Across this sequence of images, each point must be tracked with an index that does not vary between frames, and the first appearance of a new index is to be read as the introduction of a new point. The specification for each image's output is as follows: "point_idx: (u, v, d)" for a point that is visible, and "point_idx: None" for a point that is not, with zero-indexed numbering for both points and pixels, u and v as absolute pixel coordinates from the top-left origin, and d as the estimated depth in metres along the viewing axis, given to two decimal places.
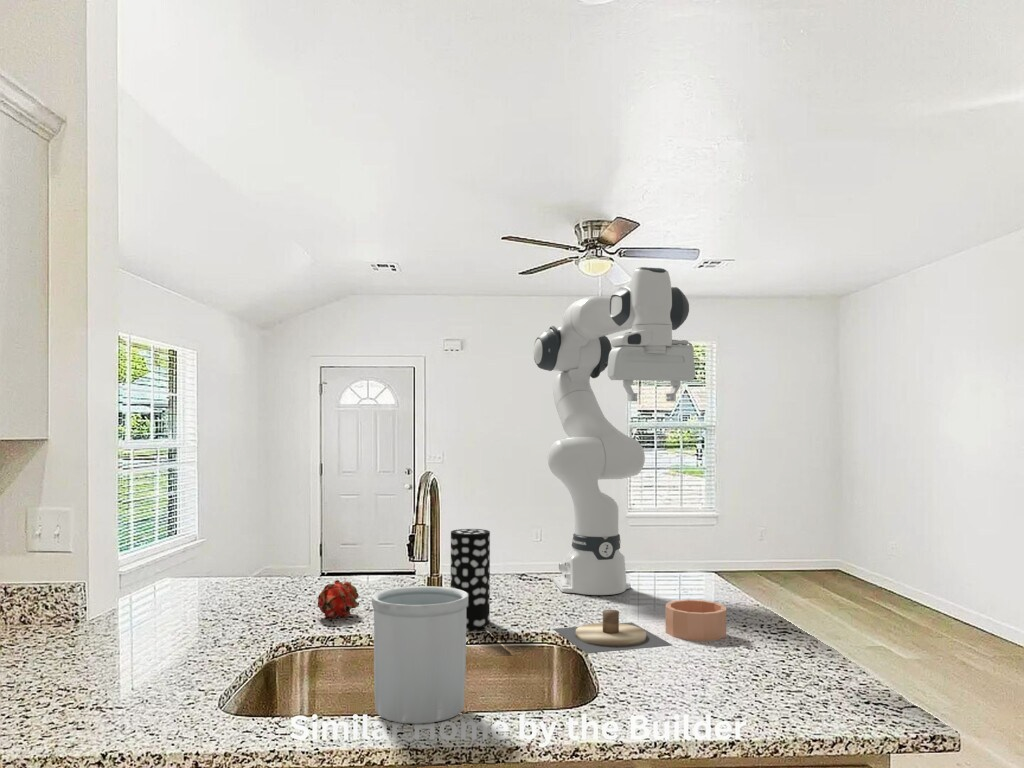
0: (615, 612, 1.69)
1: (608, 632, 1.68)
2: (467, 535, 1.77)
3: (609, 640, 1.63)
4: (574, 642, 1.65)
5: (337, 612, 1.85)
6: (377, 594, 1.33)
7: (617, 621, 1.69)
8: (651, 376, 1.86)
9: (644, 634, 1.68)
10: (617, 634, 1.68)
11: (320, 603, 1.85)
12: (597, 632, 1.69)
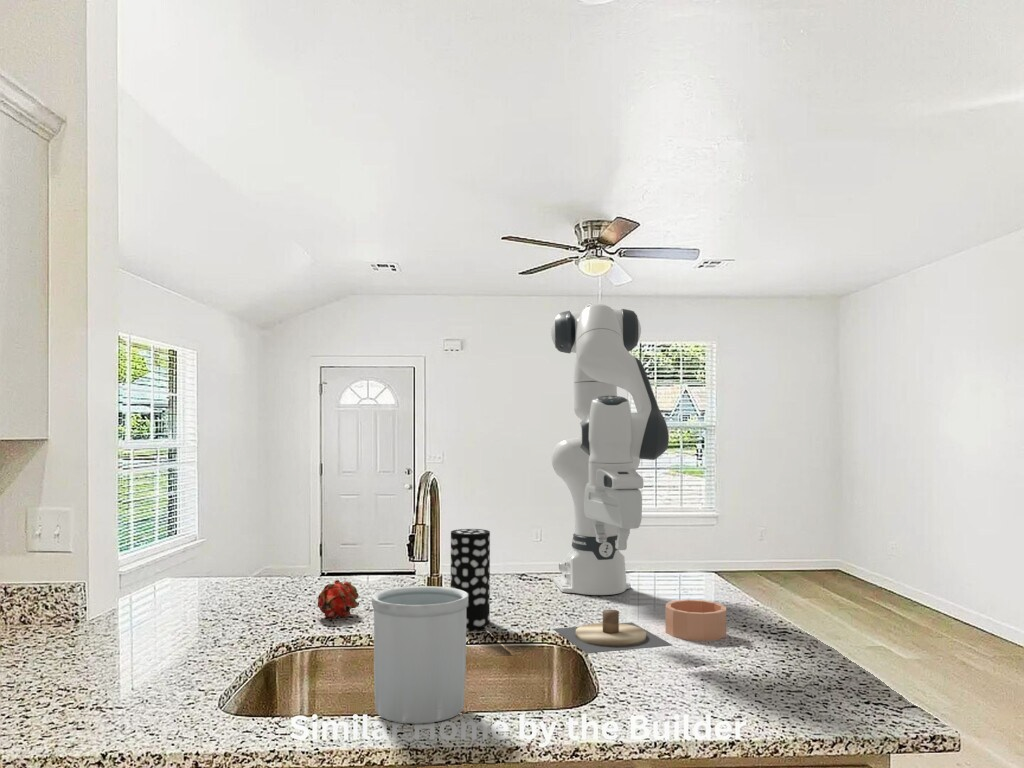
0: (615, 612, 1.69)
1: (608, 632, 1.68)
2: (467, 535, 1.77)
3: (609, 640, 1.63)
4: (574, 642, 1.65)
5: (337, 612, 1.85)
6: (377, 594, 1.33)
7: (617, 621, 1.69)
8: None
9: (644, 634, 1.68)
10: (617, 634, 1.68)
11: (320, 603, 1.85)
12: (597, 632, 1.69)
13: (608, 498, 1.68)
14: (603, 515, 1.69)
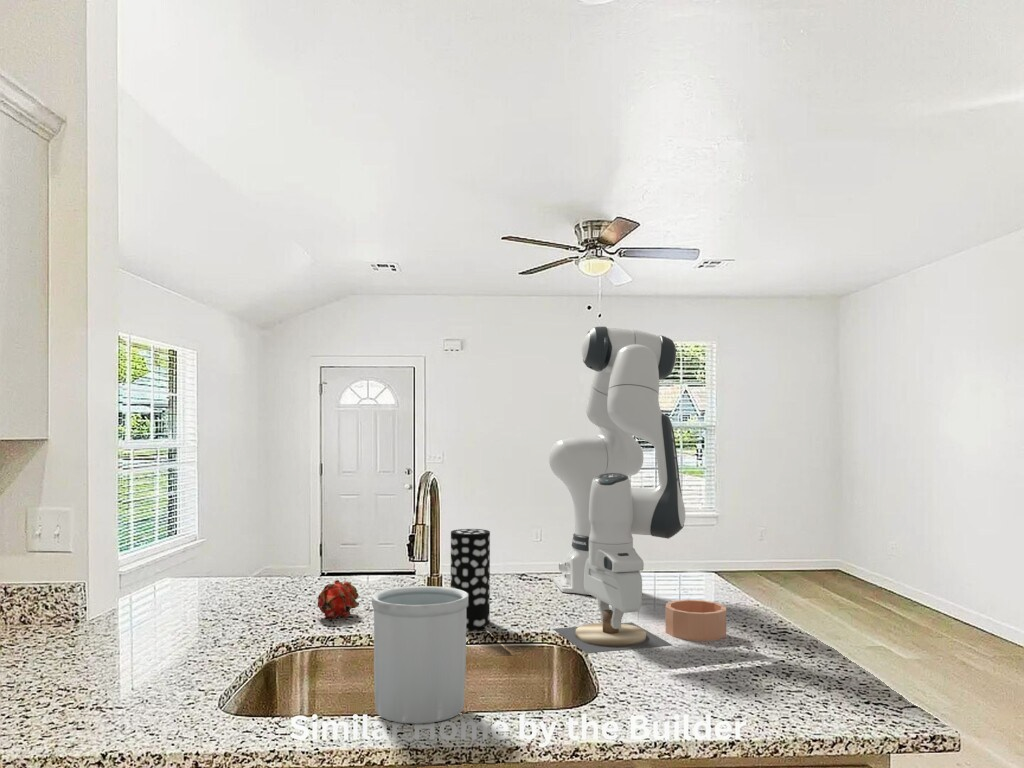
0: None
1: (608, 632, 1.68)
2: (467, 535, 1.77)
3: (609, 640, 1.63)
4: (574, 642, 1.65)
5: (337, 612, 1.85)
6: (377, 594, 1.33)
7: None
8: None
9: (644, 634, 1.68)
10: (617, 634, 1.68)
11: (320, 603, 1.85)
12: (597, 632, 1.69)
13: (608, 578, 1.67)
14: (603, 594, 1.69)
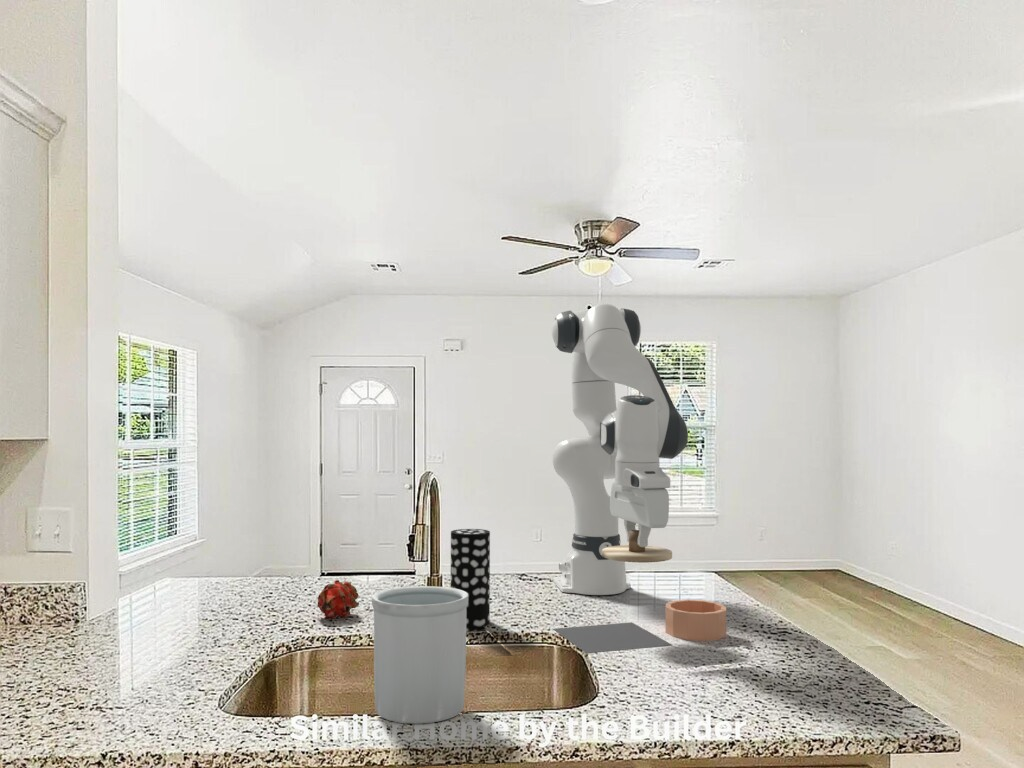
0: None
1: (634, 551, 1.70)
2: (467, 535, 1.77)
3: (636, 556, 1.65)
4: (574, 642, 1.65)
5: (337, 612, 1.85)
6: (377, 594, 1.33)
7: None
8: None
9: (670, 552, 1.69)
10: (644, 552, 1.69)
11: (320, 603, 1.85)
12: (623, 551, 1.71)
13: (635, 497, 1.69)
14: (630, 514, 1.70)
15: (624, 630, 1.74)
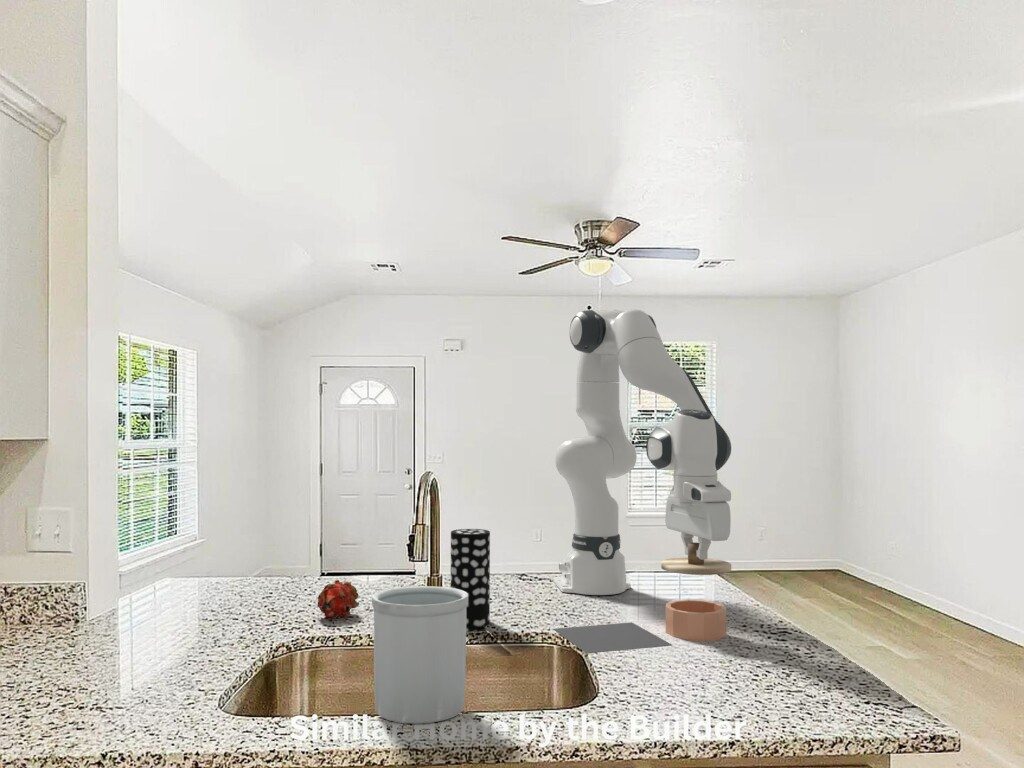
0: None
1: (694, 563, 1.72)
2: (467, 535, 1.77)
3: (698, 569, 1.67)
4: (574, 642, 1.65)
5: (337, 612, 1.85)
6: (377, 594, 1.33)
7: None
8: None
9: (729, 565, 1.72)
10: (703, 565, 1.71)
11: (320, 603, 1.85)
12: (683, 564, 1.73)
13: (694, 510, 1.71)
14: (689, 527, 1.72)
15: (624, 630, 1.74)
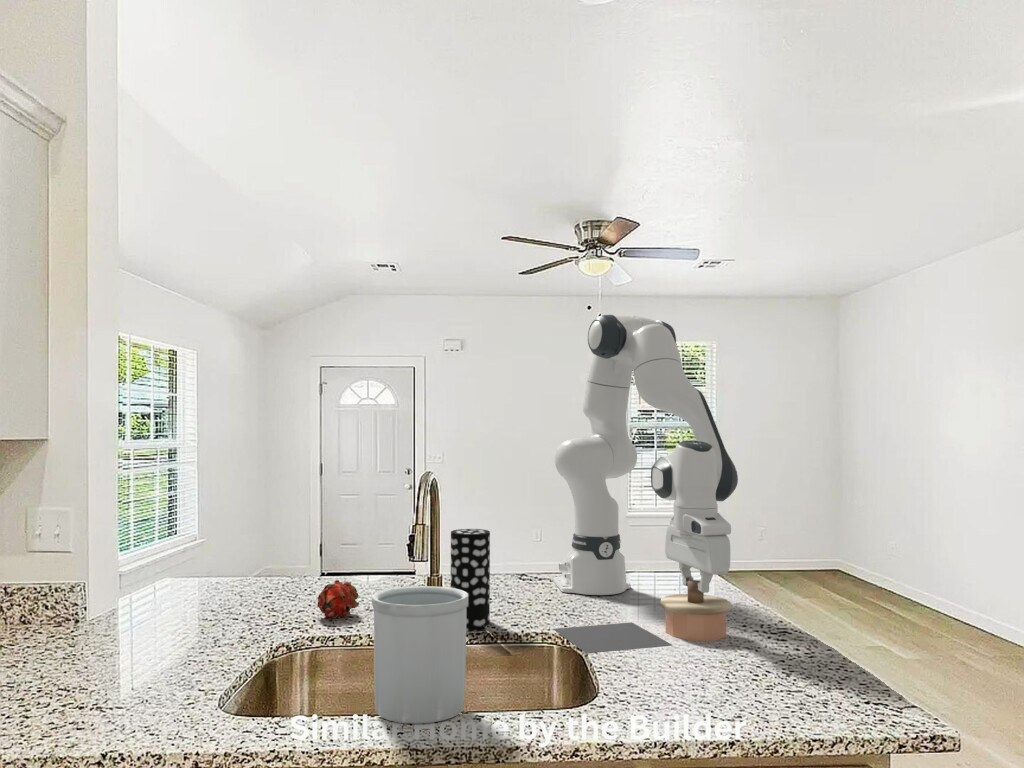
0: None
1: (694, 602, 1.72)
2: (467, 535, 1.77)
3: (697, 609, 1.67)
4: (574, 642, 1.65)
5: (337, 612, 1.85)
6: (377, 594, 1.33)
7: None
8: None
9: (729, 603, 1.72)
10: (703, 604, 1.71)
11: (320, 603, 1.85)
12: (682, 602, 1.73)
13: (694, 542, 1.71)
14: (689, 559, 1.72)
15: (624, 630, 1.74)
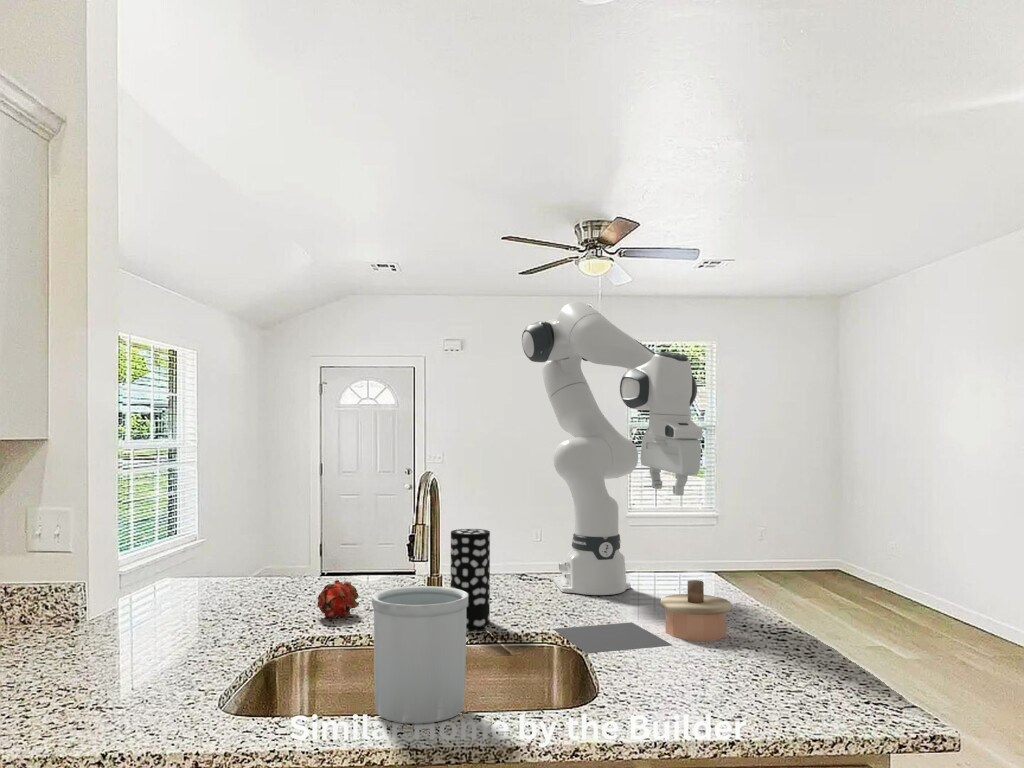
0: (700, 582, 1.73)
1: (694, 602, 1.72)
2: (467, 535, 1.77)
3: (697, 609, 1.67)
4: (574, 642, 1.65)
5: (337, 612, 1.85)
6: (377, 594, 1.33)
7: (702, 591, 1.73)
8: None
9: (729, 603, 1.72)
10: (703, 604, 1.71)
11: (320, 603, 1.85)
12: (682, 602, 1.73)
13: (667, 447, 1.80)
14: (662, 463, 1.82)
15: (624, 630, 1.74)
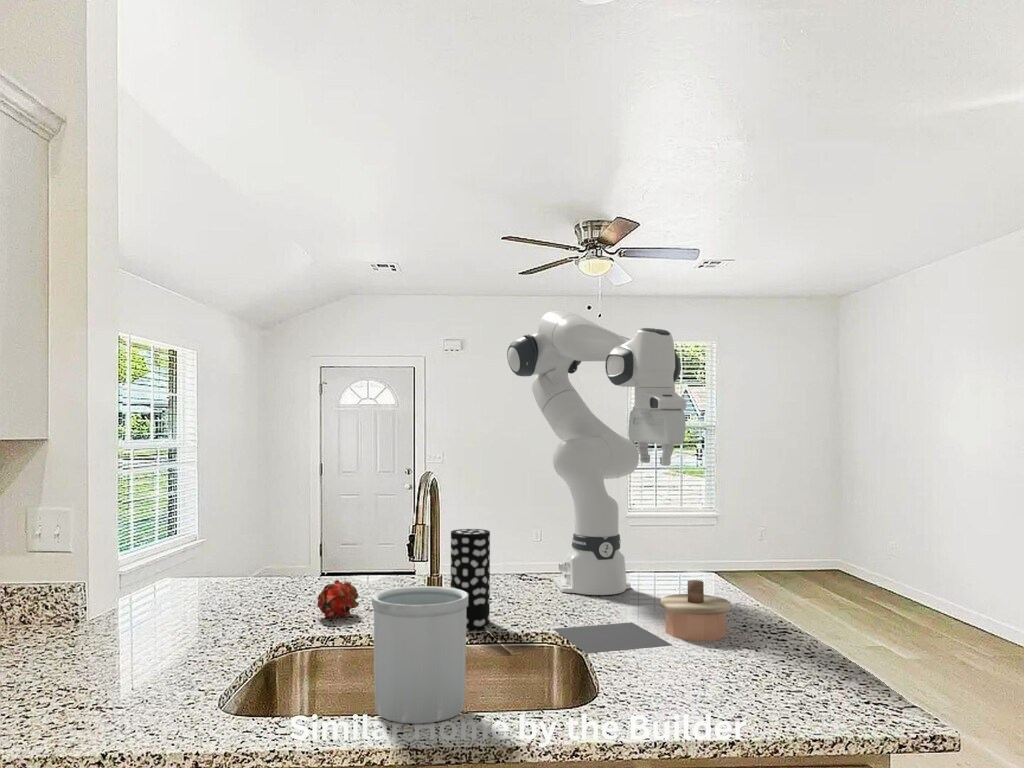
0: (700, 582, 1.73)
1: (694, 602, 1.72)
2: (467, 535, 1.77)
3: (697, 609, 1.67)
4: (574, 642, 1.65)
5: (337, 612, 1.85)
6: (377, 594, 1.33)
7: (702, 591, 1.73)
8: None
9: (729, 603, 1.72)
10: (703, 604, 1.71)
11: (320, 603, 1.85)
12: (682, 602, 1.73)
13: (653, 419, 1.84)
14: (649, 435, 1.86)
15: (624, 630, 1.74)
